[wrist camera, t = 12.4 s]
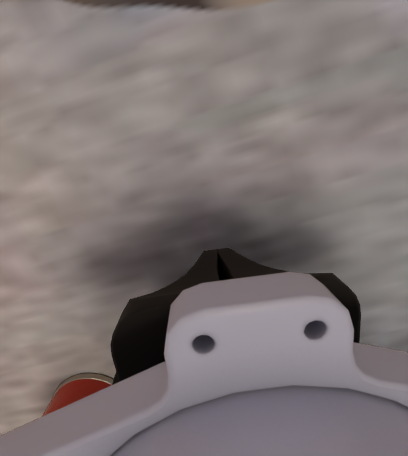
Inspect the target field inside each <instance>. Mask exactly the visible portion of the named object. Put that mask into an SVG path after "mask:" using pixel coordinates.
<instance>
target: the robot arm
mask: <svg viewBox="0 0 408 456" xmlns="http://www.w3.org/2000/svg"><path fill="white" fill-rule="evenodd" d="M360 321H361V311H360V304H359V301H358V299H357V297H356V295H355V294H354V293H353V292H352V290H351V289H350V288H349V287H348V286H347V285H345V284H344V283H343V282H342V281H341V280H340V279H339V278H337V277H336V276H335V275H334V274H333V273H296V272H288V271H282V270H277V269H273V268H270V267H266V266H263V265H260V264H258V263H256V262H253V261H251V260H249V259H247V258H245V257H243V256H242V255H240V254H238V253H237V252H235V251H234V250H232V249H230V248H224V249H216V250H208V251H204V252H203V253H202V255H201V256H200V258H199V259H198V261H197V262H196V263H195V265H194V266H193V267H192V268H191V269H190V270H189V271H188V272H187V273H186V274H185V275H184V276H182V277H181V278H180V279H179V280H177V281H175V282H174V283H172V284H170V285H169V286H167V287H165V288H163V289H161V290H158V291H156V292H153V293H151V294H148V295H144V296H141V297H137V298H133V299H130V300H129V302H128V304H127V305H126V307H125V309H124V311H123V313H122V315H121V317H120V319H119V321H118V323H117V326H116V328H115V330H114V332H113V336H112V340H111V352H112V357H113V361H114V365H115V368H116V372H117V375H118V379H119V382H118V383H116V384H113V385H111V386H109V387H107V388H105V389H102V390H100V391H98V392H96V393H94V394H91V395H89V396H87V397H85V398H82V399H80V400H78V401H76V402H74V403H71V404H69V405H67V406H65V407H63V408H60V409H58V410H56V411H54V412H51V413H49V414H47V415H45V416H43V417H40V418H38V419H36V420H34V421H32V422H29V423H27V424H25V425H23V426H21V427H18V428H16V429H14V430H12V431H9V432H7V433H5V434H3V435H1V436H0V456H408V352H406V351H400V350H394V349H389V348H383V347H377V346H372V345H366V344H361V343H359V338H360Z"/></svg>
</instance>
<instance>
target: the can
mask: <svg viewBox="0 0 408 456" xmlns="http://www.w3.org/2000/svg"><path fill="white" fill-rule="evenodd" d="M112 383H113V379H111V378H109V377H107V376H104V375H100V374H93V373H86V374H79V375H75V376H72V377H70V378H68V379H67V380H65V381H64V382H62V383H61V384H60V385H59V387H58V388H57V390H56V391H55V393H54V395H53V397H52V400H51V402H50V403H49V405H48V407H47V409H46V410H45V412H44V414H43V416H45V415H47V414H49V413H51V412H54V411H56V410H58V409H60V408H63V407H65V406H67V405H69V404H71V403H74V402H76V401H78V400H80V399H82V398H85V397H87V396H89V395H91V394H94V393H96V392H98V391H100V390H102V389H105V388H107V387H109V386H111V385H112ZM43 416H42V417H43Z"/></svg>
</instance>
